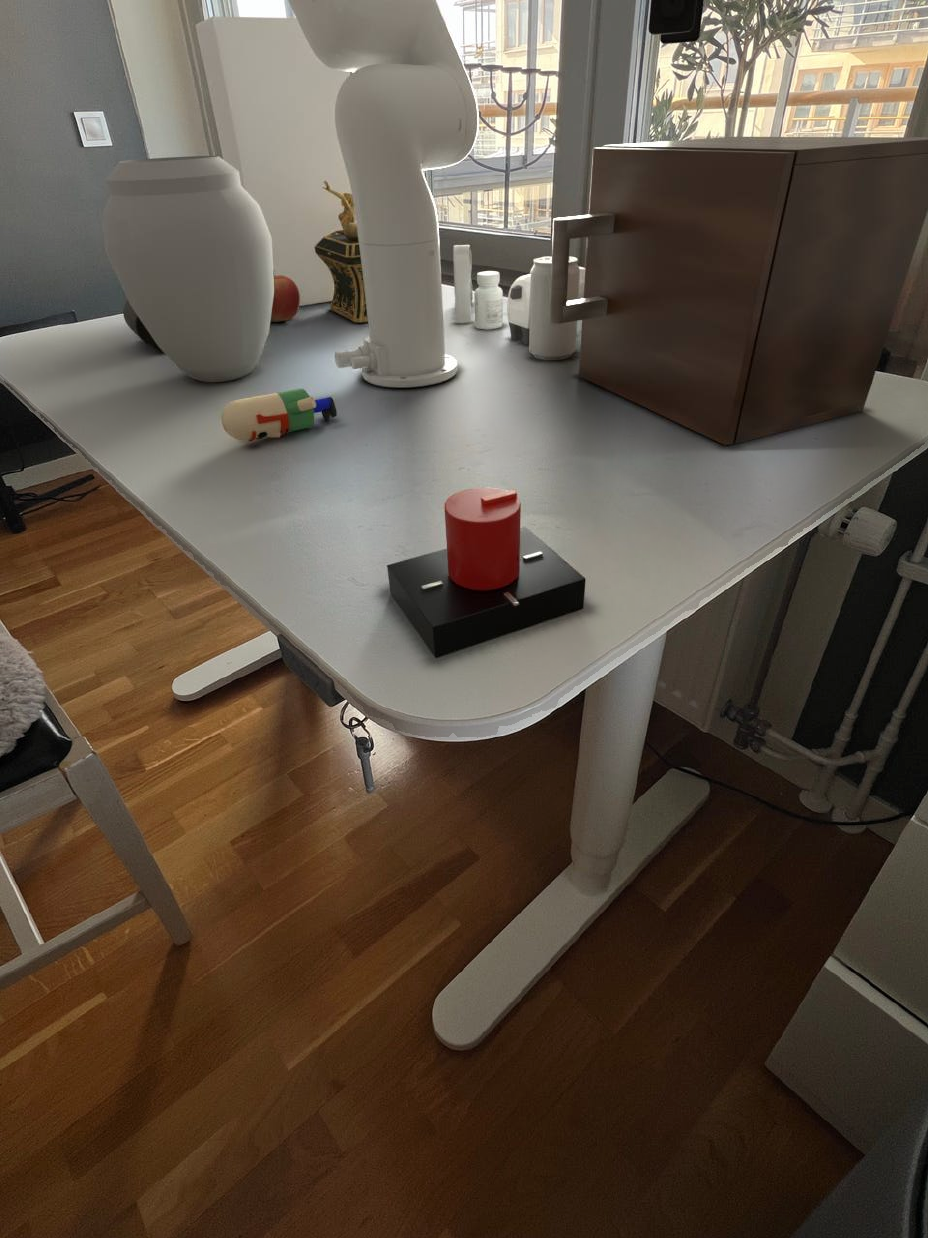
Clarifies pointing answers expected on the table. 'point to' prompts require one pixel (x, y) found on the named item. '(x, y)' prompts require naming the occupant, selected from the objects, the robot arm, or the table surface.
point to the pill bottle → (488, 301)
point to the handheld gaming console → (462, 283)
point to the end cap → (138, 326)
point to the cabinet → (828, 272)
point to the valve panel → (484, 597)
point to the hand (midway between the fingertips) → (675, 37)
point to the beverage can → (544, 335)
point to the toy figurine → (274, 414)
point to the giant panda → (526, 306)
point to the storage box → (280, 136)
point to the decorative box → (345, 263)
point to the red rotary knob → (483, 537)
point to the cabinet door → (673, 276)
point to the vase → (192, 261)
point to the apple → (284, 299)
